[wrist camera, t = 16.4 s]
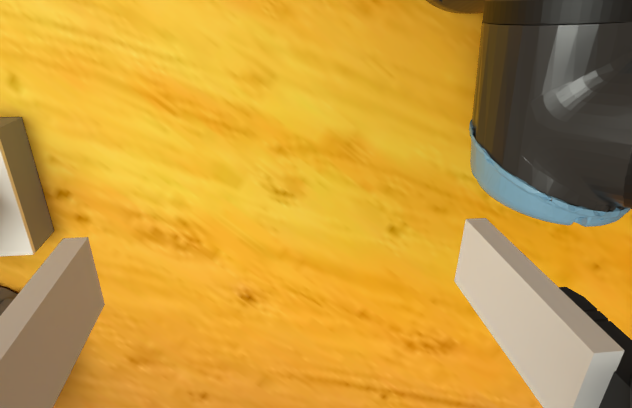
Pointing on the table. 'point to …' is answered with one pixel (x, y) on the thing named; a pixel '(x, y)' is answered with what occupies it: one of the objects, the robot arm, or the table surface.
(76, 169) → the table surface
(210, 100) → the table surface
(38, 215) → the plinth
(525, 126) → the robot arm
